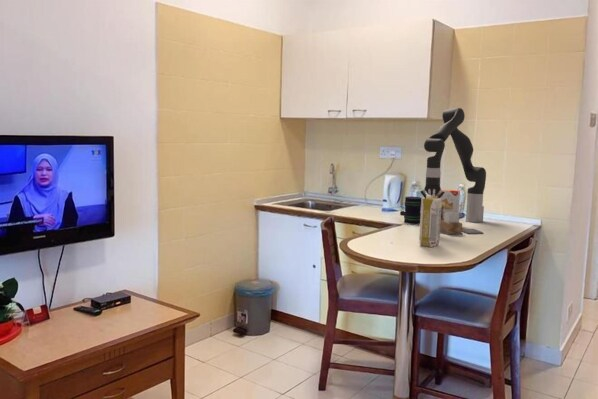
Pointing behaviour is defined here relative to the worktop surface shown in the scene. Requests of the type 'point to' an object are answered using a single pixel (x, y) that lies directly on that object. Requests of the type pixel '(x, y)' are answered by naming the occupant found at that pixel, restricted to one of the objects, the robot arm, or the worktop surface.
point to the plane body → (450, 228)
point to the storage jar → (412, 210)
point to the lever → (442, 208)
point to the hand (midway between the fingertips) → (431, 208)
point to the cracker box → (450, 200)
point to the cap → (451, 217)
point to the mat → (471, 231)
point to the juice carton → (430, 221)
